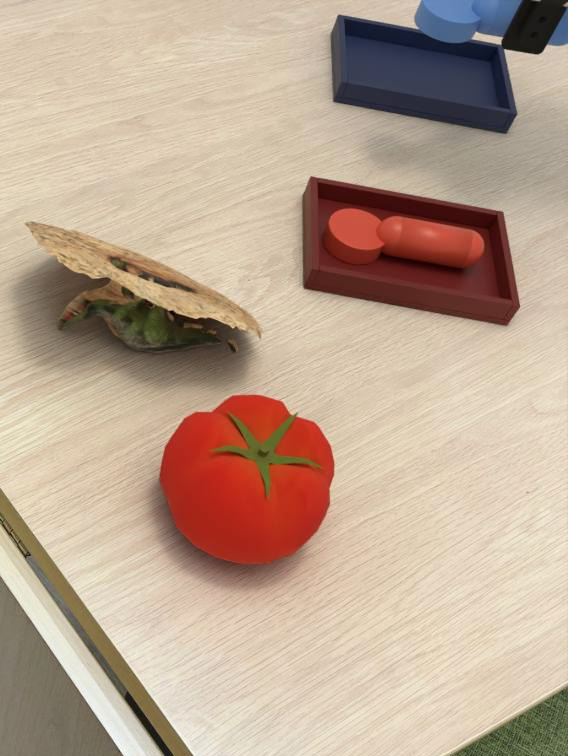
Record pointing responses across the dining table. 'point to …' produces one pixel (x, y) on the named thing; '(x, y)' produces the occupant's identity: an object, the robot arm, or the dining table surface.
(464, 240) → the red spoon
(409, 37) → the blue tray
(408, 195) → the red tray
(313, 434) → the tomato
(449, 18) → the blue spoon
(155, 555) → the dining table surface
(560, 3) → the robot arm
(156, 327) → the sandwich
